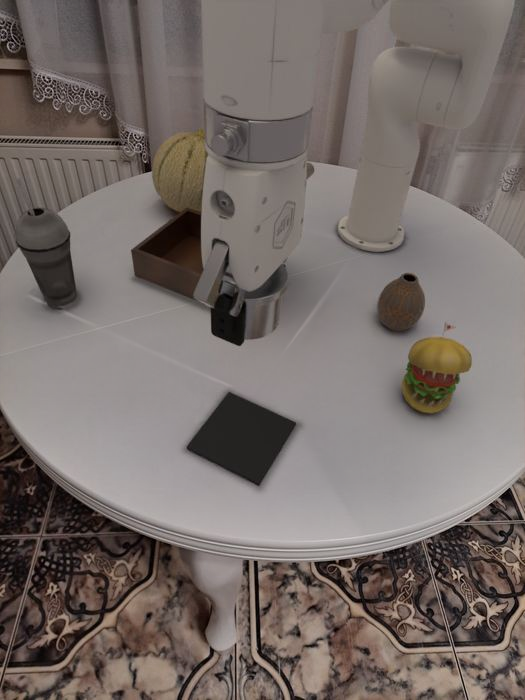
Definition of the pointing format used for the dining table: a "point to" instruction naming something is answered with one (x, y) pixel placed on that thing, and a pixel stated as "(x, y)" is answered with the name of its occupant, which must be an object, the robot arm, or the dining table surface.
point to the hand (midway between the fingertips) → (248, 314)
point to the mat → (242, 437)
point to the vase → (401, 303)
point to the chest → (172, 254)
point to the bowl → (261, 304)
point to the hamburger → (434, 372)
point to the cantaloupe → (181, 170)
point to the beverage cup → (47, 252)
